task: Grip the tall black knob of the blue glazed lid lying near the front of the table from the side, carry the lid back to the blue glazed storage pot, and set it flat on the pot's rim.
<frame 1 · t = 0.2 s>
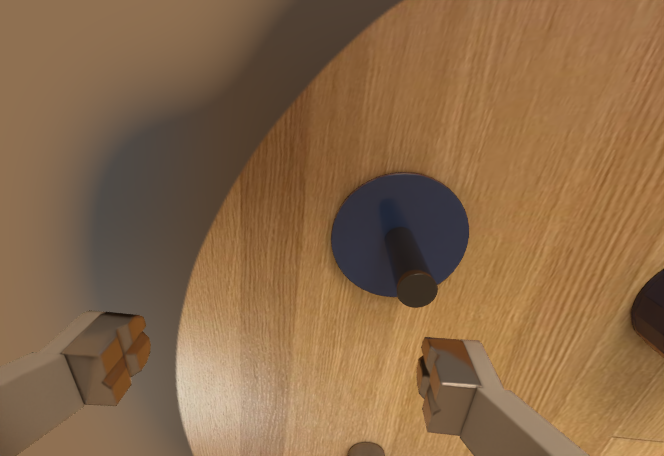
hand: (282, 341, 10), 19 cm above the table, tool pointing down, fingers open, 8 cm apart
lid: (398, 238, 28), point 1 cm above the table
planter: (366, 452, 41), on the table
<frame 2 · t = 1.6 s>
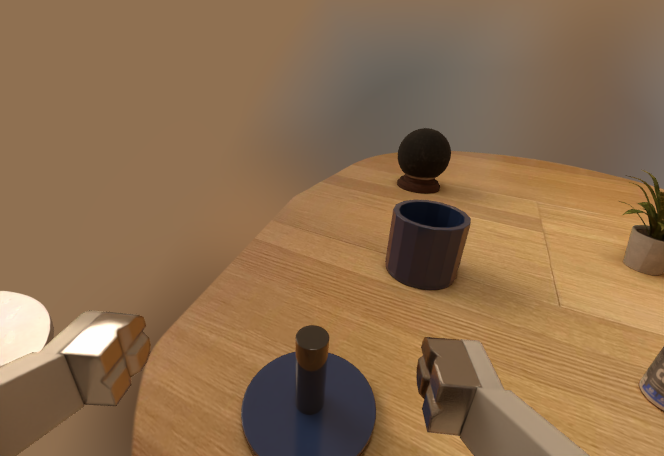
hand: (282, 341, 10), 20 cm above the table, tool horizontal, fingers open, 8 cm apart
ball on stand: (417, 186, 89), on the table
pot: (419, 269, 51), on the table
house plant: (631, 263, 57), on the table
lid: (309, 404, 29), point 1 cm above the table
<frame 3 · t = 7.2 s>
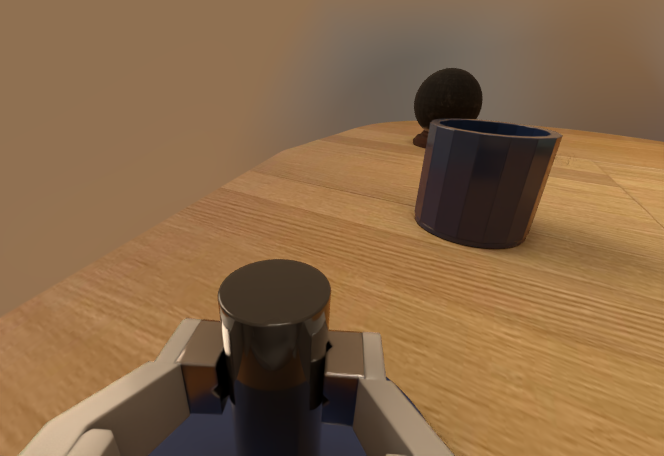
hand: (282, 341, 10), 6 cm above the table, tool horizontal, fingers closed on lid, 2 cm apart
ball on stand: (439, 146, 71), on the table
pot: (467, 223, 33), on the table
when the fingers open (15 cm above the table, at t = 16.1 s): lid stays where it is, resting on pot.
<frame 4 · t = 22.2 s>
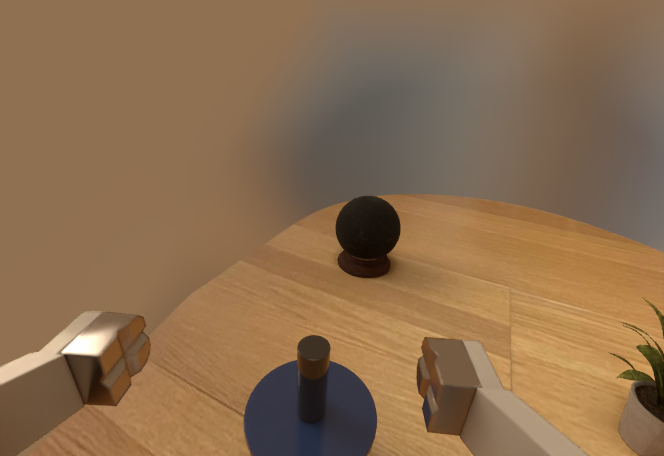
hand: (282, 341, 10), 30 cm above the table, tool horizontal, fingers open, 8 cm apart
ball on stand: (363, 263, 71), on the table
house plant: (631, 433, 40), on the table
lid: (311, 413, 29), point 9 cm above the table, touching pot
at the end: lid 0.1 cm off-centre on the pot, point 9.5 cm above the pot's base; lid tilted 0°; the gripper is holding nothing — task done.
